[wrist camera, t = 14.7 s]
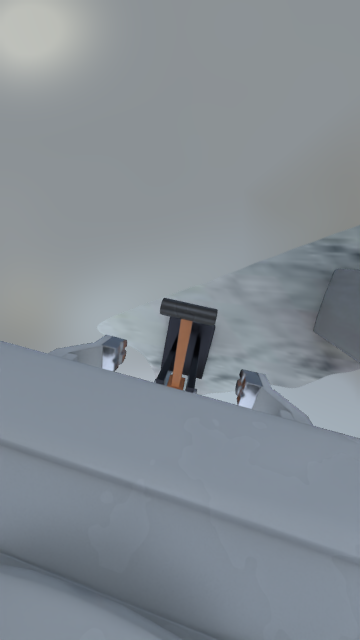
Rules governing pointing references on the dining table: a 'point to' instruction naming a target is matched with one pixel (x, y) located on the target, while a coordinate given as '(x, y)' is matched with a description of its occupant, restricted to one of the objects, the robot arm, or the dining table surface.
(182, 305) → the lever
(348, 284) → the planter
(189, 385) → the bracket
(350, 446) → the robot arm
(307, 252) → the dining table surface
